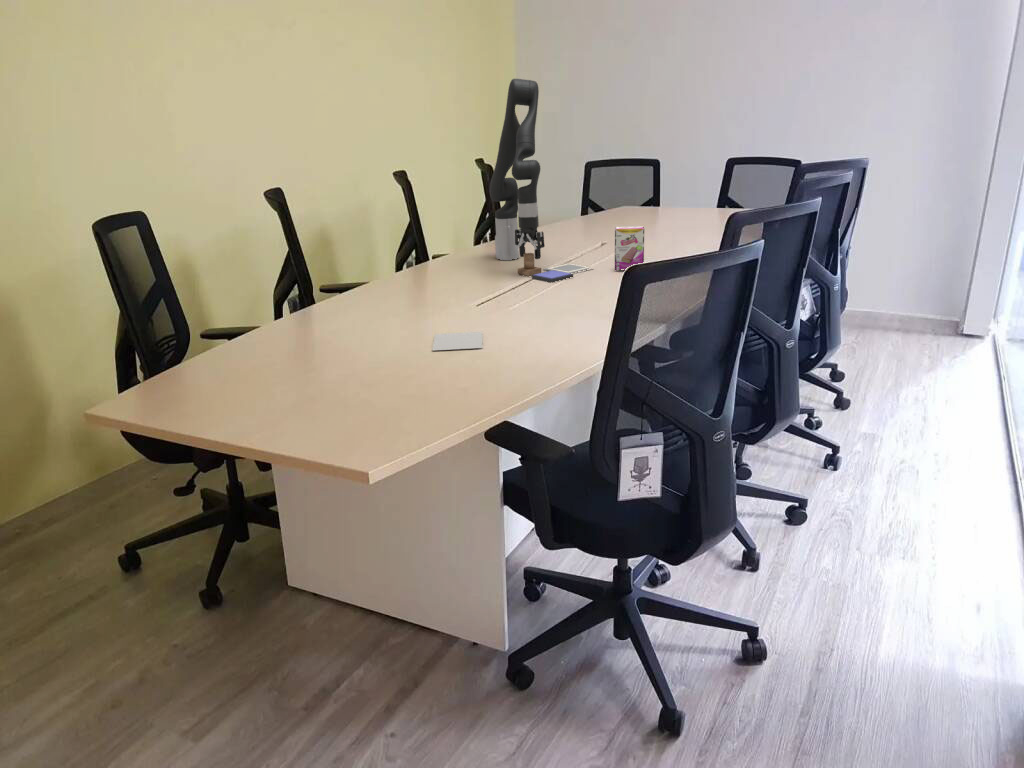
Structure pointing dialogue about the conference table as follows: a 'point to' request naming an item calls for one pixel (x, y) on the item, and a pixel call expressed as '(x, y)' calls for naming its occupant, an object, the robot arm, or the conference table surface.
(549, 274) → the ink pad
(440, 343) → the paper stack
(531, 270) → the stamp
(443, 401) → the conference table surface
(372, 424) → the conference table surface
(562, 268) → the frame board
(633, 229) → the candy bar box
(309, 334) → the conference table surface
